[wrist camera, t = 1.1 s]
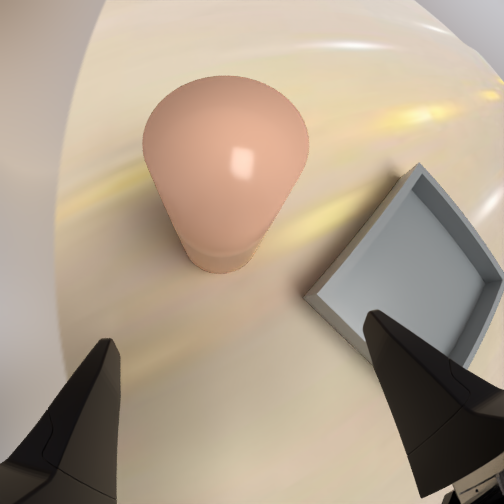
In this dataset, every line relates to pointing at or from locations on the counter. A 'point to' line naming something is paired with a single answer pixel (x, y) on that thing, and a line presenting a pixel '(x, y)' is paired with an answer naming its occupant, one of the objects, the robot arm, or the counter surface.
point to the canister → (224, 165)
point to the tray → (414, 272)
